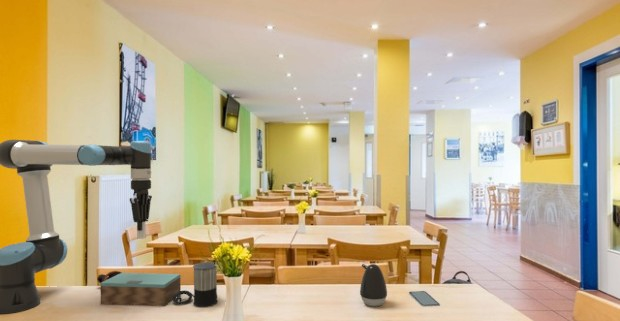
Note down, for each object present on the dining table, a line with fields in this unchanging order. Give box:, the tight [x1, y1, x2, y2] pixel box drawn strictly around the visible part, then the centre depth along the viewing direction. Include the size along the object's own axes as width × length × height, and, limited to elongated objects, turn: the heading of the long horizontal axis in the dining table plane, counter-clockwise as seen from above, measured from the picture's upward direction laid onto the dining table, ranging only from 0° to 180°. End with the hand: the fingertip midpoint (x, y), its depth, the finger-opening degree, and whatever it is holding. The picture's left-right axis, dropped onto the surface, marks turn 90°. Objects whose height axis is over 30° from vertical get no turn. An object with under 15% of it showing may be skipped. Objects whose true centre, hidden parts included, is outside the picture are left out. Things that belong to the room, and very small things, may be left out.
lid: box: [99, 272, 181, 288], centre depth 159 cm, size 26×14×2 cm, turn 84°
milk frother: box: [172, 261, 218, 308], centre depth 154 cm, size 14×16×15 cm
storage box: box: [100, 277, 182, 307], centre depth 159 cm, size 26×14×7 cm, turn 84°
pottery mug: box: [96, 270, 123, 284], centre depth 173 cm, size 12×10×8 cm
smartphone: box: [408, 290, 441, 307], centre depth 156 cm, size 7×1×15 cm
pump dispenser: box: [359, 263, 388, 307], centre depth 151 cm, size 10×10×15 cm
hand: (141, 238), depth 159 cm, fingers closed
